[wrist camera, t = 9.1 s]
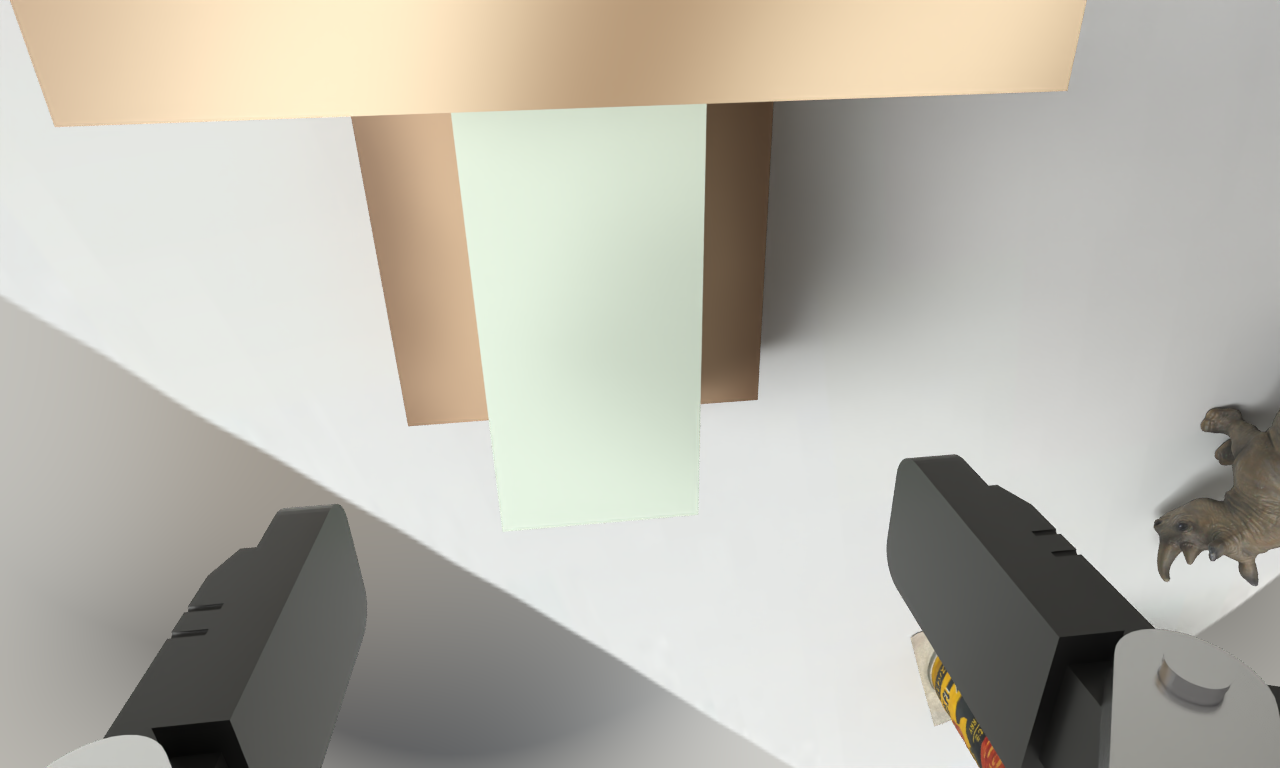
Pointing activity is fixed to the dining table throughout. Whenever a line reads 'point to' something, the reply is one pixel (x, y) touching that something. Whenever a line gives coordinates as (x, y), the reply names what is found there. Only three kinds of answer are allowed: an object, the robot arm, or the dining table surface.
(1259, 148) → the dining table surface
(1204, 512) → the rhino figurine
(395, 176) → the ledge
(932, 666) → the condiment
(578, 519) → the mint green tall box
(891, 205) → the dining table surface
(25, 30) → the wall board
